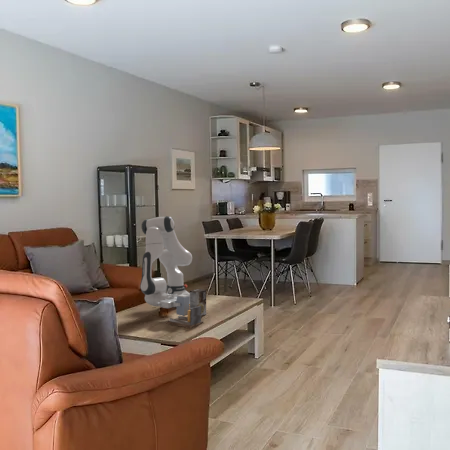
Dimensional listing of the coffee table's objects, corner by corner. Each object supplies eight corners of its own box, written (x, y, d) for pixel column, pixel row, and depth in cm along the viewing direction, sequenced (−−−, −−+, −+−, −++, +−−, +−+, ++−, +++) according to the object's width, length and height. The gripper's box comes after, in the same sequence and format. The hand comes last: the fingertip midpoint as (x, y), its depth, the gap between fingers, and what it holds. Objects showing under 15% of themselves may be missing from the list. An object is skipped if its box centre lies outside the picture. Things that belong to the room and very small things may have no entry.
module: (181, 312, 314) (181, 294, 313) (189, 314, 310) (189, 295, 310) (176, 314, 310) (176, 295, 309) (184, 315, 306) (184, 296, 306)
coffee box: (199, 312, 336) (200, 288, 335) (206, 314, 332) (206, 289, 330) (189, 315, 330) (189, 290, 329) (196, 317, 325) (196, 291, 324)
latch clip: (193, 321, 310) (193, 308, 309) (195, 321, 309) (195, 309, 308) (187, 323, 305) (187, 310, 304) (189, 324, 304) (189, 310, 303)
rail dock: (180, 318, 321) (180, 301, 320) (203, 322, 311) (203, 305, 310) (165, 323, 309) (165, 305, 309) (189, 328, 299) (189, 309, 298)
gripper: (155, 298, 308) (172, 301, 300) (177, 293, 325) (194, 296, 317) (155, 308, 309) (172, 312, 301) (177, 303, 325) (194, 306, 318)
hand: (184, 303), depth 309 cm, fingers closed on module, 5 cm apart
